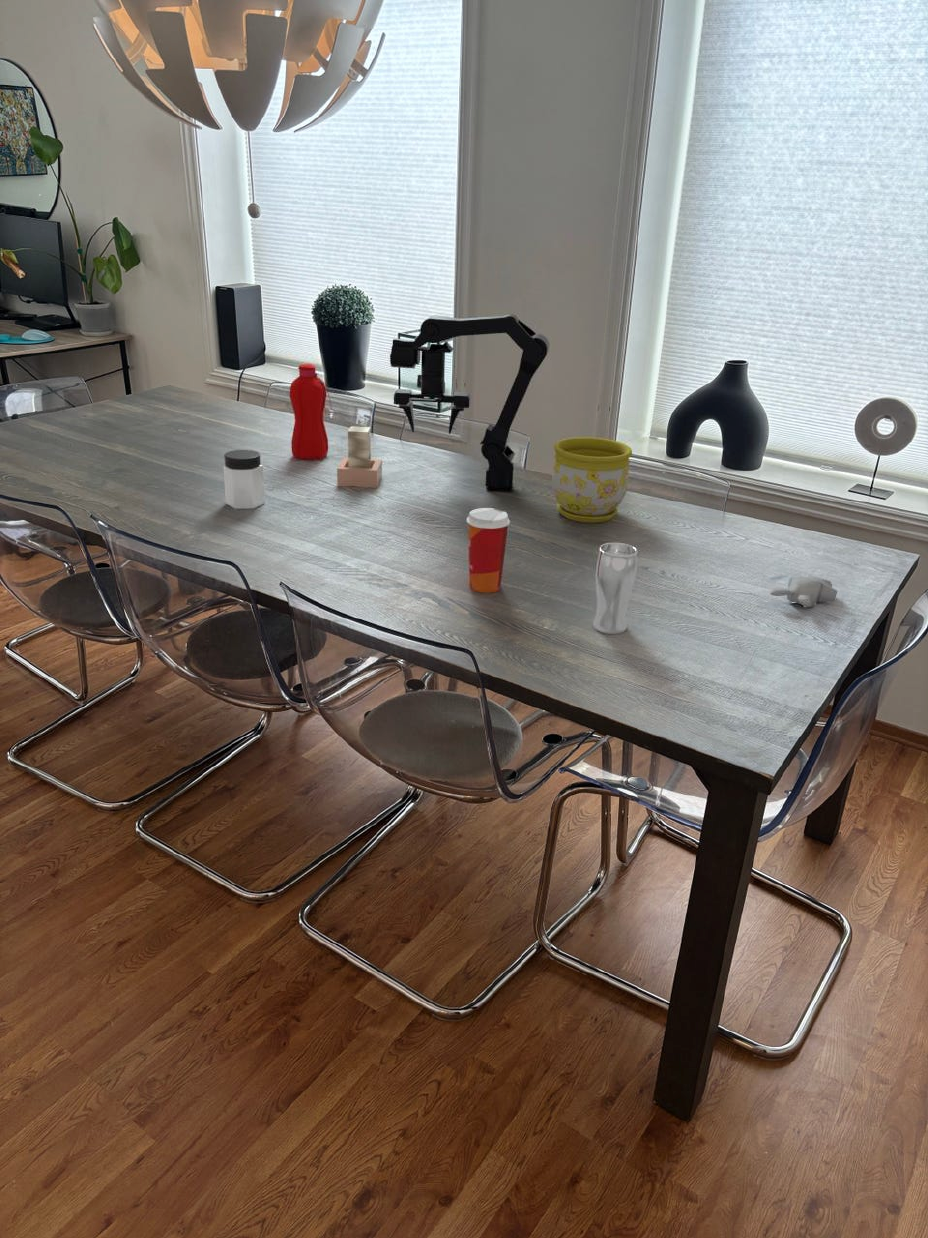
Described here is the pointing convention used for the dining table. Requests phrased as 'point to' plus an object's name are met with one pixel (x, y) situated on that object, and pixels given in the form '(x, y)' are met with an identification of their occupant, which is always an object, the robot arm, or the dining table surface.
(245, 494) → the jar
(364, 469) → the socket
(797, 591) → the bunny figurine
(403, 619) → the dining table surface
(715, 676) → the dining table surface
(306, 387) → the water bottle
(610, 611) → the beer glass
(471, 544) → the coffee cup
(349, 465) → the birch block
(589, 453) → the flowerpot
